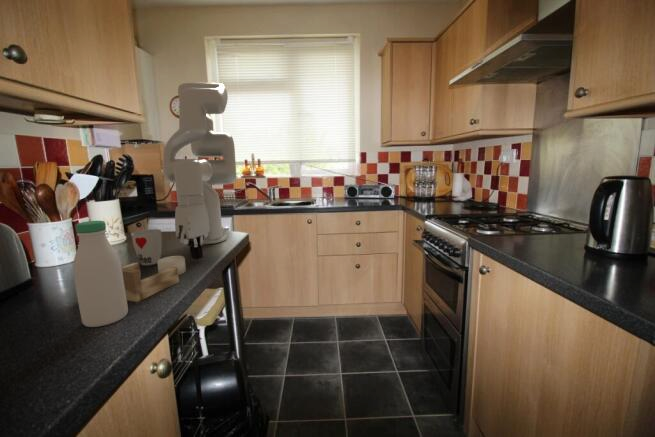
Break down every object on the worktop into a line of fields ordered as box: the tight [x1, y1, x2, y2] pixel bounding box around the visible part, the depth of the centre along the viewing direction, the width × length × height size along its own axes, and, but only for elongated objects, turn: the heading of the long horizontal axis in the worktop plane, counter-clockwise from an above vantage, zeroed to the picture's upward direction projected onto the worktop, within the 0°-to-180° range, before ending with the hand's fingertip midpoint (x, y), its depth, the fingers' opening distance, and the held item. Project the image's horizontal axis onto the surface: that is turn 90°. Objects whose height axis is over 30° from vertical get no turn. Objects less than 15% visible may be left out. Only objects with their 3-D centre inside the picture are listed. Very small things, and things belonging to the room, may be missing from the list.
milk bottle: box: [72, 220, 129, 328], centre depth 61 cm, size 8×8×20 cm
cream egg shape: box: [156, 255, 187, 276], centre depth 89 cm, size 7×7×4 cm
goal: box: [121, 262, 180, 303], centre depth 78 cm, size 12×15×7 cm
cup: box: [130, 228, 163, 266], centre depth 97 cm, size 8×8×10 cm
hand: (197, 258), depth 98 cm, fingers closed
